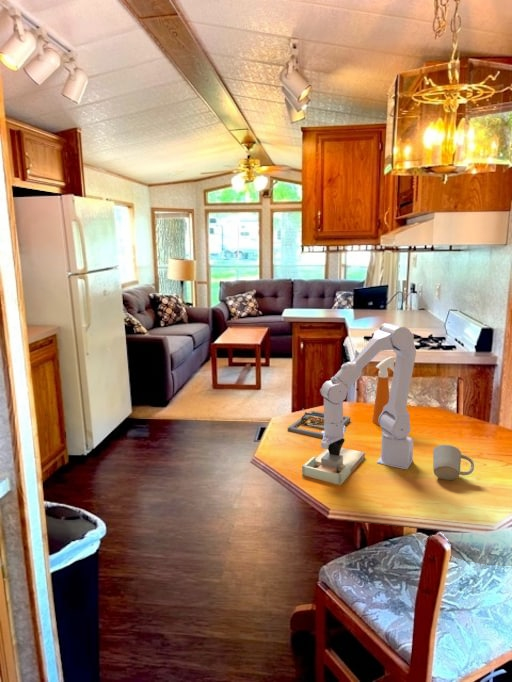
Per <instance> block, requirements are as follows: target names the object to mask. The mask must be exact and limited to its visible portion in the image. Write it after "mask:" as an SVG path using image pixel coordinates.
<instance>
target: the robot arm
mask: <svg viewBox="0 0 512 682" xmlns="http://www.w3.org/2000/svg"><path fill="white" fill-rule="evenodd" d="M414 337H415V335H414V334H413V332H412V331H411V330H410V329H409V328H408V327H406V326H400V325H397V324H394V323H392V322H385V323H382V324H381V325H380V326H379V328H378V329H377V330H375V331H374V332H373V336H372V338H371V339H370V340H369V341H368V343H367V344H366V345H365V346H364V348H363V349H362V350H361V351H360V352H359V354H358V355H357V356H356V357H355V358H354V359H353V360H352V361H347V362H346V363H343V364H342V365H341V366H340V368H339V370H338V371H337V373H335V375H334V376H332V377H330V380H326V381H325V382H324V383H323V384H322V386H321V388H320V389H319V393H320V394H321V396H322V397H323V409H324V410H323V413H324V420H323V421H324V429H322V431H321V432H320V433H321V435H323V438H322V441H321V442H320V448H321V449H324V450H325V449H328V450H329V454H332V455H337V456H339V455H340V450H341V448H343V445H344V444H345V441H346V440H345V433H346V429H347V428H346V426H347V425H346V426H344V425H343V416H344V401H345V400H346V398H347V395H348V391H349V389H350V388H351V387H352V386H353V385H354V384H355V383H356V382H357V381H358V379H359V378H360V377H362V375H363V373H362V372H363V371H362V370H363V369H364V367H366V366H367V365H368V364H369V363H370V362H371V361H372V360H373V359H374V358H375V357H376V356H377V355H378V354H379V353H380V352H383V351H389V350H390V351H391V350H392V351H393V352H394V353H395V356H396V360H395V361H394V367H395V368H394V372H393V374H392V381H391V385H390V389H389V402H388V404H387V405H385V406H384V407H383V411H382V413H381V415H380V416H379V420H378V422H379V425H378V426H379V427H380V428H381V447H380V449H381V451H380V457H379V458H378V460H377V461H376V463H377V464H380V465H384V466H387V467H388V466H389V467H392V468H397V469H398V468H399V469H402V470H408V469H409V468H410V466H411V464H412V463H413V461H414V438H412V437H410V436H409V435H410V432H411V426H412V425H411V423H410V419H411V418H410V417H411V416H410V413H409V411H408V408H407V404H408V400H409V399H408V398H409V393H410V387H411V383H412V376H413V371H414V367H415V361H416V355H417V349H416V346H415V342H414Z"/></svg>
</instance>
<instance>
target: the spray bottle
mask: <svg viewBox="0 0 512 682" xmlns="http://www.w3.org/2000/svg"><path fill="white" fill-rule="evenodd" d="M396 356H397V355H395V356H394V355H393V356H389V357H387V358H385V359H384V360H381V361H379V363H377V365H375V368H376V369H379V370H378V375H377V383H376V391H375V400H374V405H373V415H372V423H373V424H374V425H378V426H380V425H379V422H378V420H379V416H380V415H381V413H382V411H383V407H384V406H385V405H387V404H388V402H389V396H390V387H389V371H388V368H389V369H390V370H391V371H392V372H393V373H394V368H395V361H396Z"/></svg>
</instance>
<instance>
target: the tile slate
mask: <svg viewBox="0 0 512 682" xmlns="http://www.w3.org/2000/svg"><path fill="white" fill-rule="evenodd" d="M342 464H343V455H339V456H337V455H332V454H329V452H328V453H326V454H325V455H324V456H323V457H322V458H321V465H324V466H328V467H333V468H336V470H337V469H338V468H339V467H340V466H341V465H342Z"/></svg>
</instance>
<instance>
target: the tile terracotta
mask: <svg viewBox="0 0 512 682" xmlns="http://www.w3.org/2000/svg"><path fill="white" fill-rule="evenodd" d="M317 469H322V470H326V471H330V472H334V473H337V471H336V468H333V467H328V466H324V465H320V466H317Z"/></svg>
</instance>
